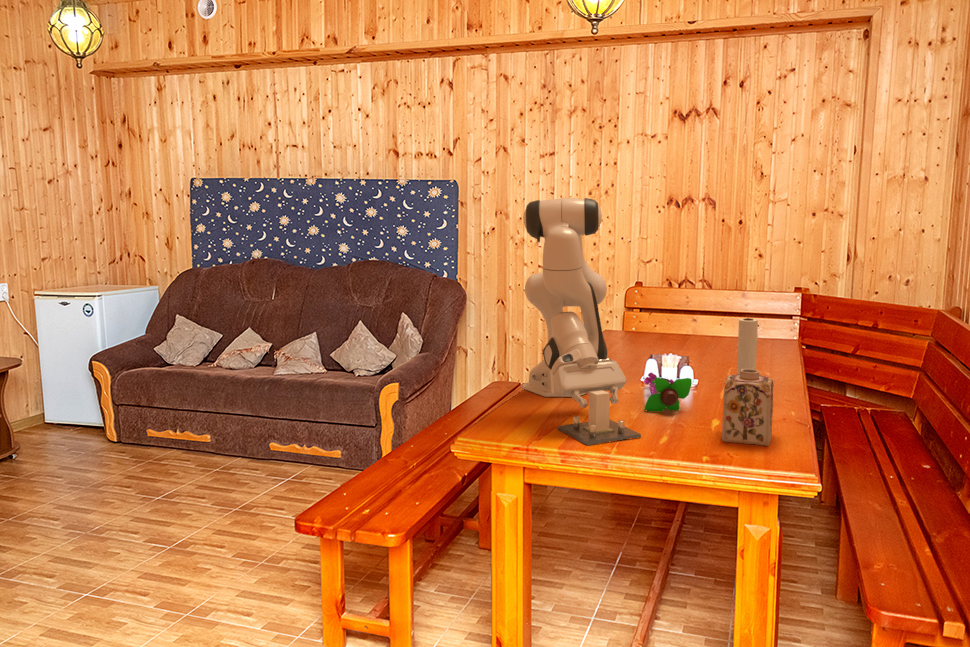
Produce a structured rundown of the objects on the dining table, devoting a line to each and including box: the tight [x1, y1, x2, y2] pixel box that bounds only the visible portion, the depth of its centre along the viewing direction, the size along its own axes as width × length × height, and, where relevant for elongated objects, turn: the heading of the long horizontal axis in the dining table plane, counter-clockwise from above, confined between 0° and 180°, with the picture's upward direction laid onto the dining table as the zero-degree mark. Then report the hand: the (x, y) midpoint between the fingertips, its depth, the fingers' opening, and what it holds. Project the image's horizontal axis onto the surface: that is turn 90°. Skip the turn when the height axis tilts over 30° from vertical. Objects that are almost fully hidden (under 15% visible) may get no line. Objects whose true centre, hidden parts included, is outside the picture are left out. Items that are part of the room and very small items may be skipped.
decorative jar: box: [721, 369, 774, 447], centre depth 209 cm, size 12×12×18 cm
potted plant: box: [643, 372, 693, 413], centre depth 250 cm, size 12×16×35 cm
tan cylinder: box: [736, 317, 759, 374], centre depth 272 cm, size 7×6×21 cm
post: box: [588, 390, 611, 432], centre depth 215 cm, size 4×4×10 cm
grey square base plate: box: [557, 415, 642, 446], centre depth 216 cm, size 16×16×4 cm
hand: (600, 404), depth 215 cm, fingers open, 8 cm apart
